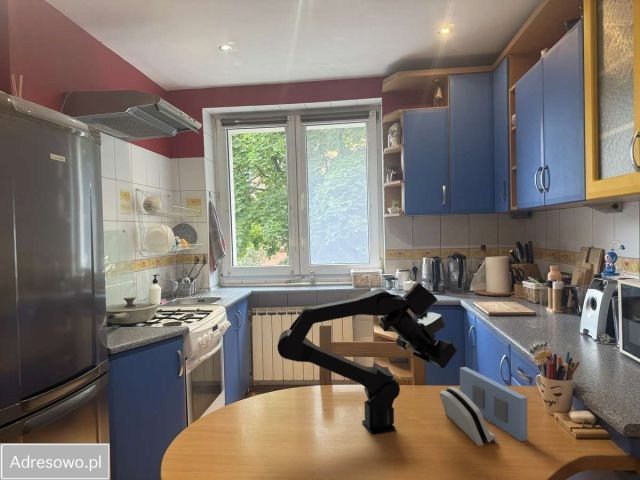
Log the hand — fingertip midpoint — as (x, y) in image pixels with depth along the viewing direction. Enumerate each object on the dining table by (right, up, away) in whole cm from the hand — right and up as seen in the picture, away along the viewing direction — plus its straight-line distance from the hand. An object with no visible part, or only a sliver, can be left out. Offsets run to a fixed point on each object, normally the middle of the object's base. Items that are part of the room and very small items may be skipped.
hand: (442, 365), depth 104 cm
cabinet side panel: (+12, -13, -2) cm, 18 cm away
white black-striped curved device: (+4, -14, -6) cm, 16 cm away
